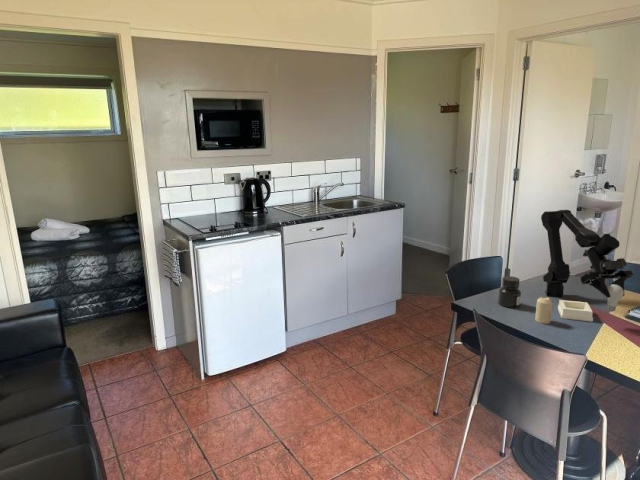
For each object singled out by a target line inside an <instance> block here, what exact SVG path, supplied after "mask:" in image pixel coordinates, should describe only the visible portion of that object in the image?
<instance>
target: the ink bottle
mask: <svg viewBox="0 0 640 480" xmlns="http://www.w3.org/2000/svg"><path fill="white" fill-rule="evenodd" d="M501 282H502V283H501V287H500V288H499V289H498V298H497V303H498V304H499V305H500V306H501V307H504V308H510V309H511V308H519V307H520V305H521V297H522V295H521V294H522V292H521V290H520V289H519V287H520V278H519V277H516V276H511V275H509V276H508V275H506V276H503V277H502V280H501Z"/></svg>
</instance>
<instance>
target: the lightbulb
mask: <svg viewBox="0 0 640 480" xmlns="http://www.w3.org/2000/svg"><path fill="white" fill-rule="evenodd" d="M606 287H607V289H608V291H609V294H610V297H609V298H607V297H606V301H607V310H608V311H609V312H610V313H611V312H615V311H616V309H617V306H618V304H619V302H620V300H622V298H623V297H624V296H625V290H624V291H623V289H622V288H621V287H620V286H619V285H615V284H612V283H611V284H609V285H606ZM623 295H624V296H623Z"/></svg>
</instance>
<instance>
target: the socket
mask: <svg viewBox="0 0 640 480" xmlns="http://www.w3.org/2000/svg"><path fill="white" fill-rule="evenodd" d="M558 301H559V302H558V305H557V310H558V313H559V315H560V318H561V319H567V320H573V321H585V322H593V320H594V318H593V314H594V312H593V310H592V308H591V306H590V305H589V303H588V302H586V301H585V302H583V301H575V300H564V299H559V300H558Z"/></svg>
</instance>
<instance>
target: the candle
mask: <svg viewBox="0 0 640 480" xmlns="http://www.w3.org/2000/svg"><path fill="white" fill-rule="evenodd" d="M552 311H553V301H552V300H551V298H550V297H544V296H540V297H539V298H538V299H537V300H536V308H535V316H534V317H535V318H534V320H535V322H537V323H539V324H545V325H547V324H550V323H551V321H552V320H551V319H552Z"/></svg>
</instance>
